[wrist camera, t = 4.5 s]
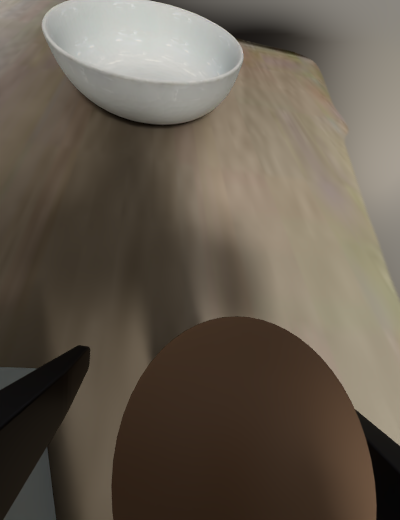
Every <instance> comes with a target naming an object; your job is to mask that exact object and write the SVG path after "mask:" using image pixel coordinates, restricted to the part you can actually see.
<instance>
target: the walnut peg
mask: <svg viewBox="0 0 400 520" xmlns="http://www.w3.org/2000/svg"><path fill="white" fill-rule="evenodd" d="M376 507H377V504H376V491H375V480H374V474H373V468H372V462H371V457H370V453H369V449H368V445H367V441H366V438H365V435H364V432H363V429H362V426H361V423H360V420H359V418H358V416H357V413H356V411H355V409H354V407H353V405H352V402H351V400H350V399H349V397H348V395H347V393H346V391H345V390H344V388H343V386H342V384H341V383H340V382H339V380H338V379H337V377H336V376H335V374H334V373H333V371H332V370H331V369H330V368H329V366H328V365H327V364H326V363H325V362H324V360H323V359H322V358H321V357H320V356H319V355H318V354H317V353H316V352H315V351H314V350H313V349H312V348H311V347H310V346H308V345H307V344H306V343H305V342H303V341H302V340H301V339H300V338H298V337H297V336H295V335H294V334H292V333H290V332H289V331H287V330H285V329H283V328H281V327H279V326H277V325H275V324H272V323H269V322H266V321H264V320H260V319H255V318H250V317H238V316H235V317H222V318H217V319H213V320H209V321H206V322H203V323H200V324H198V325H196V326H194V327H192V328H190V329H188V330H186V331H184V332H183V333H182V334H180V335H179V336H177V337H176V338H174V339H173V340H172V341H171V342H170V343H169V344H167V345H166V346H165V347H164V348H163V349H162V350H161V351H160V352H159V353H158V355H157V356H156V357H155V358H154V359H153V360H152V361H151V363H150V364H149V366H148V367H147V368H146V370H145V371H144V373H143V374H142V376H141V377H140V379H139V381H138V383H137V385H136V387H135V389H134V391H133V392H132V394H131V397H130V399H129V402H128V404H127V407H126V409H125V412H124V414H123V418H122V421H121V425H120V429H119V432H118V436H117V441H116V447H115V453H114V459H113V472H112V511H113V519H114V520H376Z"/></svg>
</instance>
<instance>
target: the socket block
mask: <svg viewBox="0 0 400 520" xmlns="http://www.w3.org/2000/svg"><path fill="white" fill-rule="evenodd" d="M36 369H38V368H13V367H0V390H1V389H3V388H4V387H6V386H8V385H10V384H11V383H13V382H15V381H17V380H18V379H20V378H22V377H24V376H25V375H27V374H29V373H31V372H32V371H34V370H36ZM4 520H56V514H55V506H54V498H53V490H52V482H51V474H50V466H49V458H48V449H47V448H46V449H45V451H44V453H43V454H42V456H41V458H40V459H39V461H38V463H37V464H36V466H35V468H34V469H33V471H32V473H31V474H30V476H29V478H28V479H27V481H26V483H25V484H24V486H23V488H22V489H21V491H20V493H19V494H18V496H17V498H16V499H15V501H14V503H13V504H12V506H11V508H10V510H9V511H8V513H7V515H6V516H5V518H4Z"/></svg>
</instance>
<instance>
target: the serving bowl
mask: <svg viewBox="0 0 400 520" xmlns="http://www.w3.org/2000/svg"><path fill="white" fill-rule="evenodd" d="M42 30H43V33H44V36H45V39H46V41H47V43H48V45H49V47H50V49H51V51H52V53H53V55H54V57H55V59H56V61H57V62H58V64H59V66H60V67H61V69H62V70H63V72H64V73H65V75H66V76H67V78H68V79H69V80H70V81H71V82H72V84H73V85H74V86H75V87H76V88H77V89H78V90H79V91H80V92H81V93H82V94H83V95H84V96H86V97H87V98H88V99H89V100H91V101H92V102H93V103H95V104H96V105H98V106H99V107H101V108H103V109H105V110H106V111H108V112H110V113H113V114H115V115H117V116H120V117H123V118H126V119H129V120H132V121H136V122H141V123H148V124H159V125H167V124H178V123H184V122H188V121H192V120H195V119H197V118H200V117H202V116H204V115H206V114H207V113H209V112H211V111H212V110H213V109H215V108H216V107H217V106H218V105H219V104H220V103H221V102H222V101H223V100H224V99H225V98H226V96H227V95H228V93H229V92H230V90H231V88H232V87H233V85H234V83H235V81H236V78H237V76H238V73H239V71H240V68H241V66H242V63H243V51H242V48H241V46H240V44H239V43H238V41H237V40H236V39H235V38H234V37H233V36H232V35H231V34H230V33H228V32H227V31H226V30H224V29H223V28H221V27H220V26H218V25H217V24H215V23H213V22H211V21H209V20H207V19H206V18H203V17H201V16H199V15H197V14H194V13H192V12H189V11H187V10H184V9H181V8H178V7H174V6H171V5H168V4H163V3H159V2H154V1H149V0H69V1H66V2H63V3H61V4H58V5H56V6H54V7H53V8H51V9H50V10H49V11H48V12H47V13H46V14H45V16H44V18H43V21H42Z"/></svg>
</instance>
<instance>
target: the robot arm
mask: <svg viewBox="0 0 400 520" xmlns="http://www.w3.org/2000/svg"><path fill="white" fill-rule="evenodd" d="M89 361H90V348H89V347H88V346H81V345H79V346H76V347H74V348H73V349H71V350H69V351H67V352H66V353H64V354H62V355H60V356H59V357H57V358H55V359H53V360H52V361H50V362H48V363H46V364H45V365H43V366H41V367H39V368H38V369H36V370H34V371H32V372H31V373H29V374H27V375H25V376H24V377H22V378H20V379H18V380H17V381H15V382H13V383H11V384H10V385H8V386H6V387H4V388H3V389H1V390H0V520H4V518H5V516H6V515H7V513H8V511H9V510H10V508H11V506H12V504H13V503H14V501H15V499H16V498H17V496H18V494H19V493H20V491H21V489H22V488H23V486H24V484H25V483H26V481H27V479H28V478H29V476H30V474H31V473H32V471H33V469H34V468H35V466H36V464H37V463H38V461H39V459H40V458H41V456H42V454H43V453H44V451H45V449H46V448H47V446H48V444H49V443H50V441H51V439H52V438H53V436H54V434H55V433H56V431H57V429H58V428H59V426H60V424H61V423H62V421H63V419H64V417H65V416H66V414H67V412H68V410H69V408H70V406H71V404H72V402H73V400H74V398H75V396H76V393H77V391H78V389H79V387H80V385H81V383H82V381H83V379H84V377H85V375H86V373H87V370H88V368H89ZM355 411H356V413H357V416H358V418H359V420H360V423H361V426H362V429H363V432H364V435H365V438H366V441H367V445H368V449H369V453H370V457H371V462H372V468H373V474H374V480H375V491H376V504H377V507H376V520H400V446H399V445H398V444H397V443H395V442H394V441H393V440H392V439H391V438H389V437H388V436H387V435H386V434H384V433H383V432H382V431H381V430H380V429H378V428H377V427H376V426H375V425H374V424H372V423H371V422H370V421H369V420H367V419H366V418H365V417H364V416H363V415H361V414H360V413H359V412H358V411H357V410H355Z"/></svg>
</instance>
